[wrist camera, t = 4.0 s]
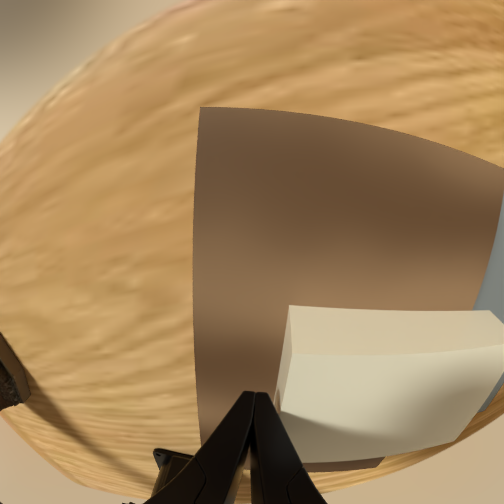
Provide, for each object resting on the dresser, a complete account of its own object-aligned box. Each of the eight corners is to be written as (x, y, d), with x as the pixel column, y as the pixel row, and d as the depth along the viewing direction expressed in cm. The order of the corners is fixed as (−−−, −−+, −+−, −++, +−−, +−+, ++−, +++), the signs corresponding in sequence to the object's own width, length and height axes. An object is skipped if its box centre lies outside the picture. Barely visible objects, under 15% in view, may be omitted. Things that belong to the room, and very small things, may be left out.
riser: (367, 429, 16) (376, 467, 13) (212, 422, 17) (203, 463, 13) (459, 162, 10) (506, 169, 7) (221, 120, 11) (200, 106, 7)
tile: (438, 407, 11) (454, 440, 8) (270, 416, 11) (268, 461, 9) (489, 310, 9) (520, 341, 6) (289, 305, 9) (292, 353, 7)
